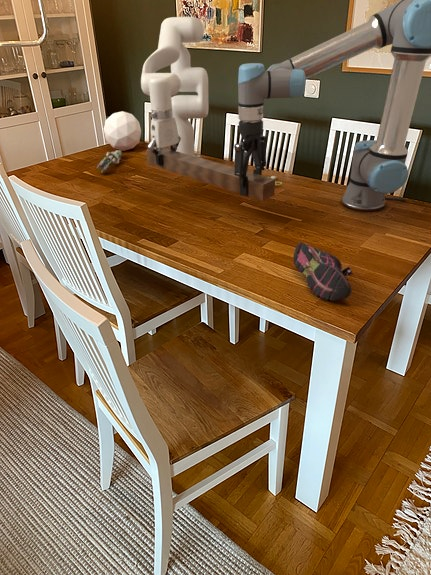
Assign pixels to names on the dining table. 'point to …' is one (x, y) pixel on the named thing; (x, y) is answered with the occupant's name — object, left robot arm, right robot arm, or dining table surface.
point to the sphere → (122, 131)
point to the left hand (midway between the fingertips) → (166, 162)
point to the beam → (213, 173)
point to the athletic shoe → (322, 272)
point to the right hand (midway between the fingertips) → (250, 191)
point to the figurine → (110, 160)
